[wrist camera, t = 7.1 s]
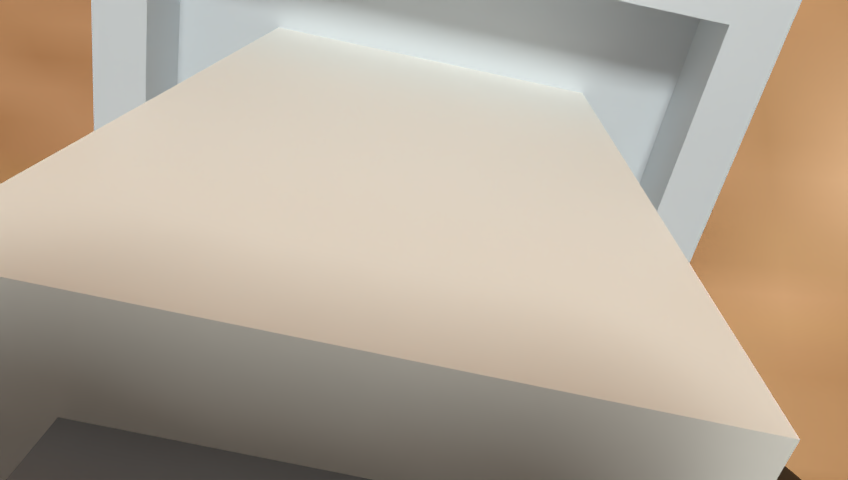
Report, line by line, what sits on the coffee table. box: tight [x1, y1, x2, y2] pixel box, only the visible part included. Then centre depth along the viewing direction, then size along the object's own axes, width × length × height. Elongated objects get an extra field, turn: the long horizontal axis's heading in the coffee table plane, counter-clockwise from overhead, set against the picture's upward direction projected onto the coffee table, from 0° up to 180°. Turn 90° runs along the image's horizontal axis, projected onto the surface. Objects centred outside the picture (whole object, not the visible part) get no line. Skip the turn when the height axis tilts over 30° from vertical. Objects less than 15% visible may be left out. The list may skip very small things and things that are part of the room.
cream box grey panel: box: [0, 27, 800, 480], centre depth 8 cm, size 5×7×9 cm
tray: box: [91, 0, 802, 263], centre depth 12 cm, size 10×12×2 cm
